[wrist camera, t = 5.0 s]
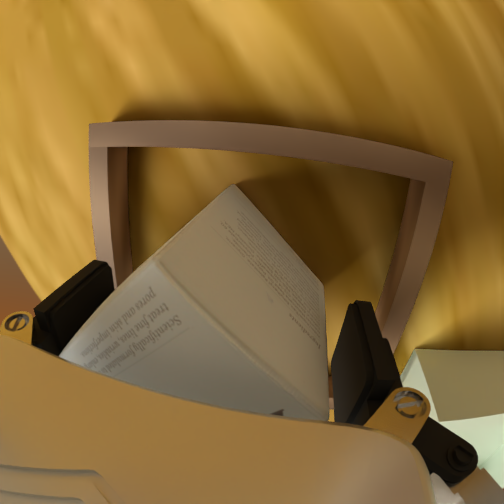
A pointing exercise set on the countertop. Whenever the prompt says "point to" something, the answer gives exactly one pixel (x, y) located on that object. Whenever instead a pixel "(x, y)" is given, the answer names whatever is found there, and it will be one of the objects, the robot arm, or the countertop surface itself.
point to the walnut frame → (282, 144)
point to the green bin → (465, 398)
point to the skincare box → (217, 318)
